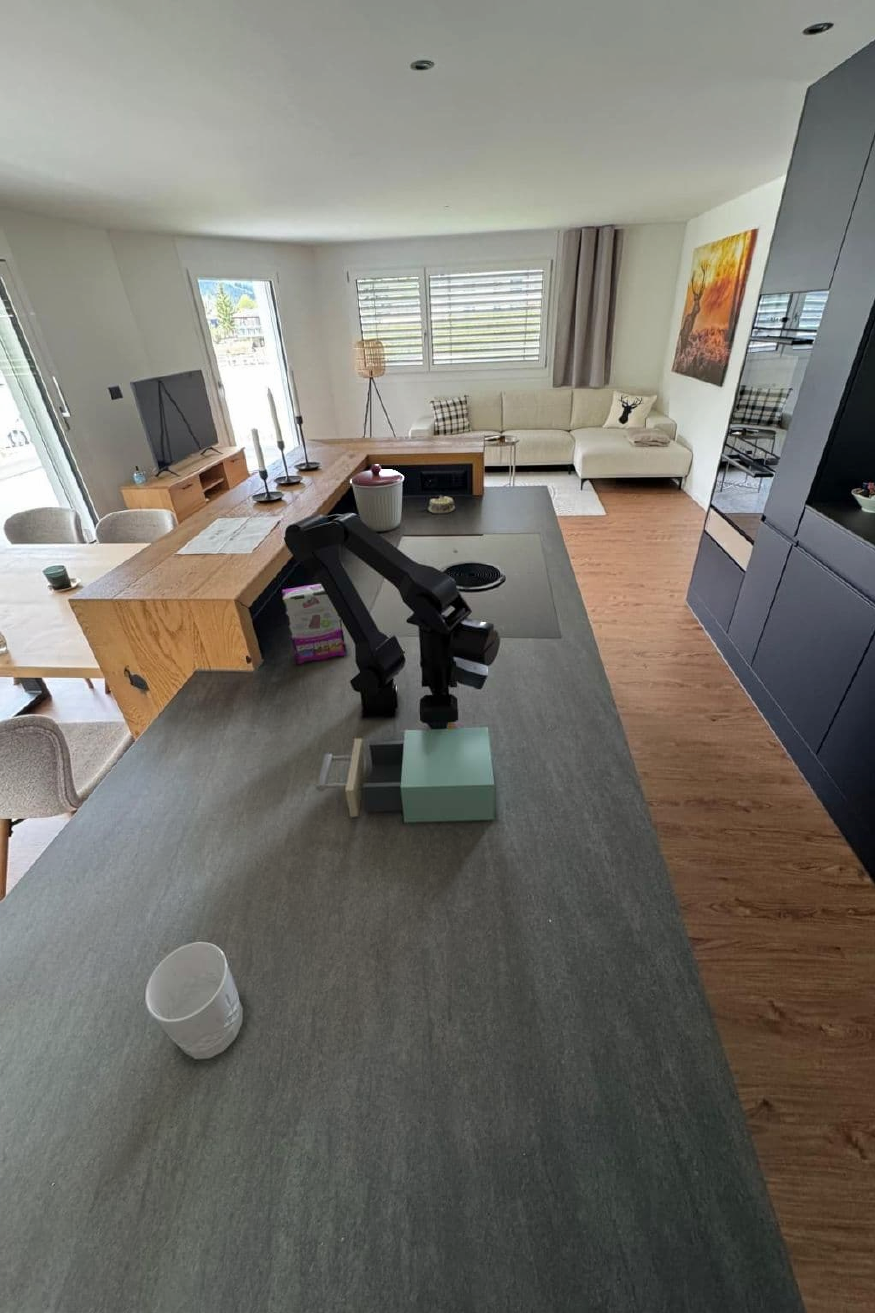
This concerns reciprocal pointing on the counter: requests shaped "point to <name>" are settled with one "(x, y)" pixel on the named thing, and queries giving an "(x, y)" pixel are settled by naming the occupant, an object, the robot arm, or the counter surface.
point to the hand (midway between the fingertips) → (440, 720)
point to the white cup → (196, 999)
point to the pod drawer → (383, 780)
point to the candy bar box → (313, 624)
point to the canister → (378, 497)
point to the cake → (441, 505)
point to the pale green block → (447, 775)
